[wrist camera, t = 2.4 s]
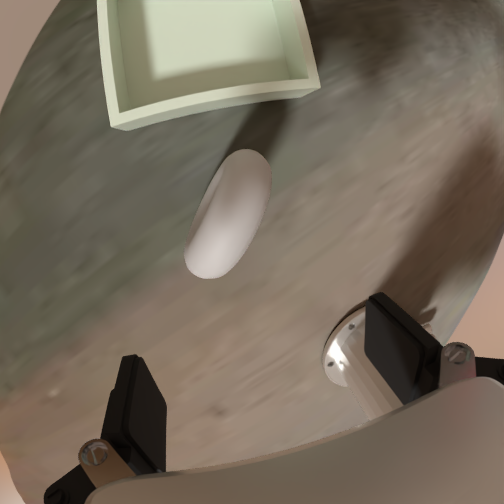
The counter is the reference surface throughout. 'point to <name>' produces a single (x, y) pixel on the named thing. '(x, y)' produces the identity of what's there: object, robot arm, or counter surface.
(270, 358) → the counter surface
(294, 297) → the counter surface
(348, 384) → the robot arm
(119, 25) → the bin
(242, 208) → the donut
